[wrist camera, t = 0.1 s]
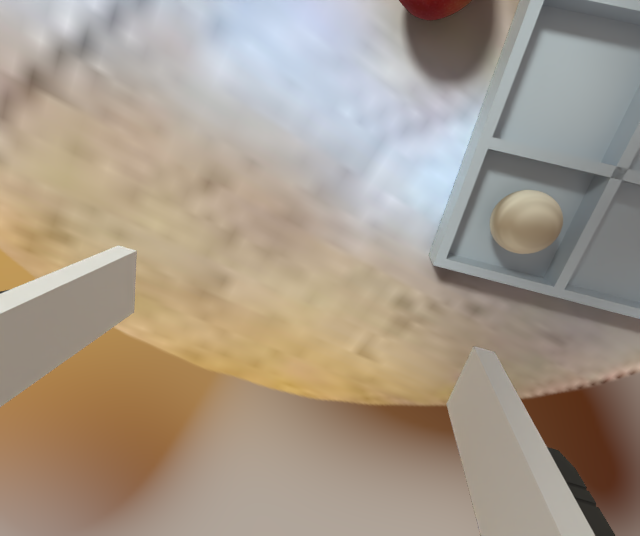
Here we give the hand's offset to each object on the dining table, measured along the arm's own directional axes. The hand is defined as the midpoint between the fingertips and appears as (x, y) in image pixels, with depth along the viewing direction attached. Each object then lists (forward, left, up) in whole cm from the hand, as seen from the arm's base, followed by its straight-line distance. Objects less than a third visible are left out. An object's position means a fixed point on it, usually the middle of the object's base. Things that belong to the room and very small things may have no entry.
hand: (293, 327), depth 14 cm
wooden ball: (-3, +17, -27) cm, 32 cm away
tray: (-9, +23, -28) cm, 37 cm away
